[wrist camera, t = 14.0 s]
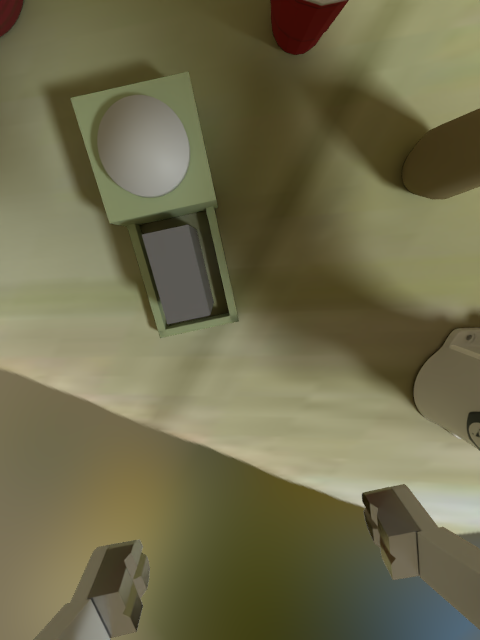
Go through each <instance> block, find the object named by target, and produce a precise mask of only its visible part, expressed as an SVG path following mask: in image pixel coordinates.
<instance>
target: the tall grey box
mask: <svg viewBox="0 0 480 640" xmlns="http://www.w3.org/2000/svg"><path fill="white" fill-rule="evenodd" d="M142 237H143V241H144V244H145V248H146V251H147V255H148V258H149V262H150V265H151V269H152V272H153V276H154V279H155V283H156V286H157V290H158V293H159V297H160V300H161V304H162V307H163V311H164V314H165V318H166V321H167V324H172V323H176V322H181V321H186V320H190V319H195V318H200V317H205V316H209V315H210V314H211V311H212V307H213V303H214V301H213V297H212V293H211V289H210V284H209V280H208V276H207V272H206V267H205V263H204V259H203V255H202V251H201V246H200V242H199V238H198V234H197V229H195V228H193V227H192V226H190V225H184V226H179V227H175V228H170V229H165V230H161V231H156V232H152V233H147V234H142Z"/></svg>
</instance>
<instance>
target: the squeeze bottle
mask: <svg viewBox="0 0 480 640" xmlns="http://www.w3.org/2000/svg"><path fill="white" fill-rule="evenodd" d="M402 179H403V183H404V185H405V187H406V188H407V189H408V190H409V192H412V193H414V194H416V195H419V196H422V197H426V198H430V199H447V198H450V197H452V196H455V195H458V194H461V193H463V192H466V191H469V190H471V189H474V188H477V187H480V109H477V110H475V111H473V112H470V113H468V114H466V115H463V116H461V117H459V118H456V119H454V120H451V121H449V122H447V123H444V124H442V125H440V126H438V127H436V128H434V129H432V130H429V131H428V132H427V133H426V135H425V136H424V137H423V138H422V139H421V140H420V141H419V142H418V143H417V144H416V146H415V147H414V148H413V150H412V151H411V152H410V154H409V155H408V156H407V158H406V160H405V163H404V165H403V169H402Z"/></svg>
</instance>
